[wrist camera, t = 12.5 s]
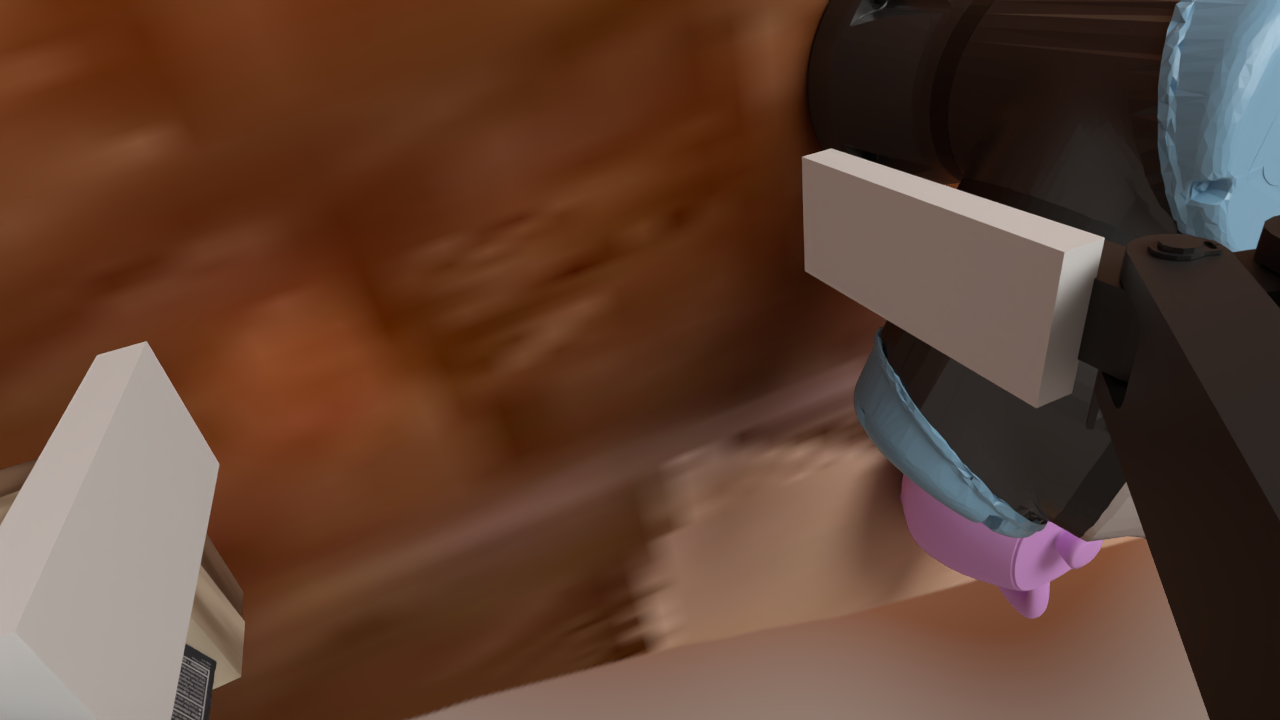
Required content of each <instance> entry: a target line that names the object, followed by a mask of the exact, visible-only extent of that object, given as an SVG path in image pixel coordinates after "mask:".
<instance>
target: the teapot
mask: <svg viewBox="0 0 1280 720" xmlns="http://www.w3.org/2000/svg"><path fill="white" fill-rule="evenodd" d="M901 490H902V492H901V495H900V502H901V503H902V504H903V510H904V515H905V519H906V523H907V526H908V529H909V531H910V534H911V536H912V537H913V539H914V540H915V542H916V543H917V544H918V546H919V547H921V548H922V549H923V550H924V551H925V552H926V553H928V554H929V555H930V556H932V557H933V558H935V559H936V560H938V561H939V562H941V563H942V564H944V565H946V566H947V567H949V568H951V569H953V570H955V571H957V572H959V573H961V574H964V575H966V576H969V577H972V578H975V579H977V580H980V581H984V582H987V583H990V584H994V585H997V586H998V587H999V589H1000V591H1001V592H1002V593H1003V595H1004V596H1005V597H1006V599H1007V600H1008V601H1009V602H1010V604H1011V605H1012V606H1013V607H1014V608H1015V609H1016V610H1017V611H1018V612H1019V613H1020V614H1022V615H1023V616H1025V617H1027V618H1036V617H1039V616H1040V615H1042V614H1043V612H1044V611H1045V610H1046V607H1047V604H1048V599H1049V588H1050V581H1052V580H1054V579H1056V578H1057V577H1059V576H1061V575H1063V574H1064V573H1066V572H1067V571H1069V570H1070V569H1077V568H1080V567H1082V566H1084V565H1086V564H1087V563H1088V562H1090V561H1091V560H1092V559H1093V558H1094V557H1095V555H1096V554H1097V553H1098V551H1099V550H1100V548H1101V545H1102V542H1103V540H1097V541H1091V542H1086V541H1084V540H1082V539H1080V538H1078V537H1076V536H1074V535H1073V534H1071V533H1069V532H1068V531H1066V530H1064V529H1062V528H1061V527H1059V526H1057V525H1055V524H1054V523H1052V522H1049V521H1048V523H1047V525H1046V526H1045V528H1044V529H1043V530H1042V531H1039V532H1036V533H1034V534H1033V535H1031V536H1029V537H1027V538H1013V537H1007V536H1004V535H1001V534H999V533H996V532H993V531H992V530H990V529H989V528H988V527H986V526H985V525H984V524H982V523H981V522H978V523H975V522H972V521H970V520H968V519H966V518H964V517H963V516H961V515H959V514H958V513H956V512H954V511H953V510H951V509H950V508H948V507H947V506H945V505H944V504H942V503H941V502H939V501H938V500H936V499H935V498H933V497H932V496H931V495H929V494H928V493H927V492H925V491H924V490H923V489H921V488H920V487H919V486H917V485H916V484H915V483H914V482H912V481H911V480H910V479H909V478H908V477H906V476H905V475H904V474H903V479H902V488H901Z"/></svg>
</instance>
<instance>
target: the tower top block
mask: <svg viewBox="0 0 1280 720" xmlns="http://www.w3.org/2000/svg"><path fill="white" fill-rule="evenodd" d="M19 492H20V491H17V492H14V493H11V494H9V495H6V496H3V497H0V525H1V523H2V522H3V520H4V518H5V516H6V514H7V513H8V511H9V509H10V507H11V506H12V504H13V502H14V500H15V499H16V497H17V495H18V493H19ZM244 630H245V621H244V620H243V619H242V617H241V616H240V615H239V614H238V612H237V611H236V610H235V608H234V607H233V606H232V605H231V603H230V602H229V601H228V599H227V598H226V597H225V595H224V594H223V593H222V592H221V590H220V589H219V588H218V586H217V585H216V584H215V583H214V581H213V580H212V579H211V577H210V576H209V575H208V574H207V572H206V571H205V570H204V568H203V567H202V566H201V565H200V569H199V575H198V580H197V585H196V591H195V596H194V601H193V606H192V612H191V617H190V622H189V627H188V633H187V638H186V644H187V645H189V646H191V647H193V648H194V649H196V650H198V651H200V652H201V653H203V654H205V655H206V656H208V657H210V658H212V659H213V660H215V661H216V662H217V665H216V670H215V675H214V684H213V689H215V688H218V687H220V686H222V685H224V684H227V683H229V682H231V681H233V680H235V679H238V678H240V677H241V673H242V659H243V644H244Z"/></svg>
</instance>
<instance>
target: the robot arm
mask: <svg viewBox="0 0 1280 720" xmlns="http://www.w3.org/2000/svg"><path fill="white" fill-rule="evenodd" d="M808 100H809V109H810V115H811V120H812V123H813V127H814V130H815V133H816V136H817V138H818V140H819V142H820V144H821V146H822V148H823V150H824V151H821V152H817V153H813V154H810V155H806V156H803V157H802V183H803V221H804V259H805V272H807V273H809V274H811V275H812V276H814V277H816V278H817V279H819V280H821V281H822V282H824V283H826V284H827V285H829V286H831V287H832V288H834V289H836V290H837V291H839V292H841V293H843V294H844V295H846V296H848V297H849V298H851V299H853V300H854V301H856V302H858V303H859V304H861V305H863V306H864V307H866V308H868V309H870V310H871V311H873V312H875V313H876V314H878V315H880V316H881V317H883V318H885V319H886V320H887V321H886V323H885V325H884V327H880V328H879V329H878V330H877V332H876V334H875V336H874V347H873V349H872V351H871V353H870V355H869V357H868V360H867V362H866V364H865V366H864V368H863V370H862V372H861V375H860V377H859V379H858V381H857V383H856V386H855V390H854V408H855V412H856V415H857V417H858V420H859V422H860V424H861V425H862V427H863V428H864V430H865V431H866V433H867V436H868V437H869V438H870V440H871V441H872V442H873V443H874V445H875V446H876V447H877V448H878V449H879V450H880V451H881V453H882V454H883V455H884V456H885V457H886V458H887V459H888V460H889V461H890V462H891V463H892V464H893V465H894V466H895V467H896V468H898V469H899V470H900V471H901V472H902V473H903V474H904V475H905V476H906V477H908V478H909V479H910V480H911V481H912V482H914V483H915V484H916V485H917V486H919V487H920V488H921V489H923V490H924V491H925V492H927V493H928V494H929V495H931V496H932V497H933V498H935V499H936V500H938V501H939V502H941V503H942V504H944V505H945V506H947V507H948V508H950V509H951V510H953V511H954V512H956V513H958V514H959V515H961V516H963V517H964V518H966V519H968V520H970V521H972V522H975V523H978V522H981V523H982V524H984V525H985V526H986V527H988V528H989V529H990V530H992V531H993V532H996V533H999V534H1001V535H1004V536H1007V537H1013V538H1027V537H1029V536H1031V535H1033V534H1034V533H1036V532H1039V531H1042V530H1043V529H1044V528H1045V526H1046V525H1047V523H1048V521H1049V522H1052V523H1054V524H1055V525H1057V526H1059V527H1061V528H1062V529H1064V530H1066V531H1068V532H1069V533H1071V534H1073V535H1074V536H1076V537H1078V538H1080V539H1082V540H1084V541H1086V542H1091V541H1097V540H1104V539H1111V538H1118V537H1125V536H1132V537H1141V538H1144V539H1146V540H1147V542H1148V545H1149V548H1150V551H1151V554H1152V557H1153V559H1154V562H1155V565H1156V568H1157V571H1158V574H1159V577H1160V579H1161V582H1162V585H1163V588H1164V591H1165V594H1166V596H1167V599H1168V602H1169V605H1170V608H1171V611H1172V613H1173V616H1174V619H1175V622H1176V625H1177V628H1178V631H1179V633H1180V636H1181V639H1182V642H1183V645H1184V647H1185V650H1186V653H1187V656H1188V659H1189V662H1190V665H1191V667H1192V670H1193V673H1194V676H1195V679H1196V682H1197V685H1198V687H1199V690H1200V693H1201V696H1202V699H1203V702H1204V705H1205V707H1206V710H1207V713H1208V716H1209V719H1210V720H1280V0H831V1H830V3H829V5H828V7H827V9H826V11H825V14H824V16H823V18H822V21H821V23H820V26H819V29H818V32H817V35H816V38H815V42H814V45H813V50H812V54H811V60H810V66H809V75H808ZM955 183H960V184H959V186H958V188H957V189H954V188H951V187H948V186H945V185H944V184H955ZM218 469H219V463H218V461H217V459H216V458H215V456H214V454H213V453H212V451H211V449H210V448H209V446H208V444H207V442H206V441H205V439H204V437H203V436H202V434H201V432H200V431H199V429H198V427H197V426H196V424H195V422H194V420H193V419H192V417H191V415H190V414H189V412H188V410H187V409H186V407H185V405H184V404H183V402H182V400H181V399H180V397H179V395H178V393H177V392H176V390H175V388H174V387H173V385H172V383H171V382H170V380H169V378H168V377H167V375H166V373H165V371H164V370H163V368H162V366H161V365H160V363H159V361H158V360H157V358H156V356H155V355H154V353H153V351H152V349H151V348H150V346H149V344H148V343H147V341H146V342H142V343H139V344H135V345H132V346H128V347H125V348H121V349H118V350H114V351H110V352H107V353H103V354H100V355H97V356H96V358H95V360H94V362H93V363H92V365H91V367H90V369H89V370H88V372H87V374H86V376H85V377H84V379H83V381H82V383H81V384H80V386H79V388H78V390H77V391H76V393H75V395H74V397H73V399H72V400H71V402H70V404H69V406H68V407H67V409H66V411H65V413H64V414H63V416H62V418H61V420H60V421H59V423H58V425H57V427H56V428H55V430H54V432H53V434H52V435H51V437H50V439H49V441H48V442H47V444H46V446H45V448H44V449H43V451H42V453H41V455H40V457H39V458H38V460H37V462H36V464H35V465H34V467H33V469H32V471H31V472H30V474H29V476H28V478H27V479H26V481H25V483H24V485H23V486H22V488H21V490H20V492H19V493H18V495H17V497H16V499H15V500H14V502H13V504H12V506H11V507H10V509H9V511H8V513H7V514H6V516H5V518H4V520H3V522H2V523H1V525H0V720H171V717H172V712H173V707H174V701H175V696H176V691H177V685H178V680H179V675H180V670H181V664H182V659H183V654H184V649H185V643H186V638H187V633H188V627H189V622H190V617H191V612H192V606H193V601H194V596H195V591H196V585H197V580H198V575H199V569H200V564H201V559H202V554H203V548H204V543H205V538H206V532H207V527H208V522H209V517H210V511H211V506H212V501H213V496H214V490H215V485H216V480H217V474H218Z"/></svg>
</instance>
